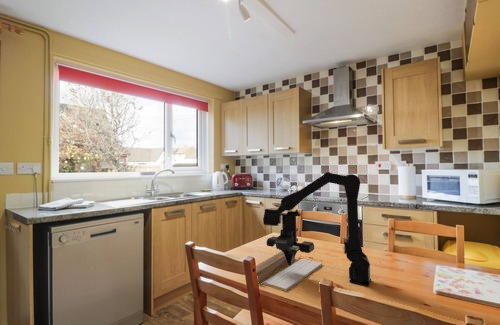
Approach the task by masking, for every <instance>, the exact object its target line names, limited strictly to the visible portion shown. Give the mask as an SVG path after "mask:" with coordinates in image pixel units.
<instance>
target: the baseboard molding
mask: <svg viewBox="0 0 500 325" xmlns="http://www.w3.org/2000/svg"><path fill="white" fill-rule="evenodd" d="M302 258H303V256H301V255H300V258H299V259H298V260H297V261H296V262H293V263H292V265H291V266H289V265H288V266H287V267H285V268H283V269H281V270H280V271H277V273H275V274H272V276H269V278H268V277H267V278H265V279H264V280H262V281H261V282H260V285H261V284H262V285H263V286H267V287H271V288H274V289H277V290H279V291H282V292H287V291H288V290H290V289H291V288H292V287H294V286H295V285H297V284H298V283H299V282H301V281H302V280H304V279H305V278H306V277H307V276H309V275H310V274H312V273H314V271H317V269H319V268H320V267H322V265H323V262H322V261H321V260H319V259H318V261H317V260H316V259H314V257H312V256H308V258H307V257H306V256H305V257H304V258H303V259H302ZM310 259H311V260H310Z"/></svg>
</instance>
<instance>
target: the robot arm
mask: <svg viewBox="0 0 500 325" xmlns="http://www.w3.org/2000/svg"><path fill="white" fill-rule="evenodd" d="M329 183H331V184H334V185H339V186H343V188H344V189H343V190H344V191H345V192H344V193H345V196H346V212H347V238H345V237H344V238H343V244H344V246H343V254H345V256H346V258H347V260H348V261H349V262H351V263H350V266H349V267H348V279H349V283H351V284H356V285H361V286H365V287H369V286H370V284H371V282H372V278H371V264H370V260H369V258H368V255H367V254H365V253H364V252H363V248H362V243H361V239H360V235H359V234H360V233H359V232H360V231H359V209H358V206H359V205H358V197H359V193H360V187H361V180H360V177H359V176H358V175H355V174H352V173H349V174H346V175H343V174H338V173H332V172H330V171H328V172H324V174H322V175H321V176H320V177H318V178H316V179H315V180H313V181H312V182H310V183H309V184H307V185H306V186H304V187H302V188H301V189H298V190H297V191H295V192H292V193H290V194H287V195H286V196H285V195H284V196H283V197H282V198H281V201H280V205H279V207H278V208H277V209H274V208H273V209H271V208H265V209H264V214H263V219H262V222H263V226H272V227H279V225H280V224H282V226H281V229H280V234H279V235H278V236H274V235H273V236H271V237H269V238H267V239H266V246H267V247H274V246H275V248H276V249H277V250H279V251H280V252H281V251H282V252H283V253H284V255H285V257H286V260H287V265H288V267H289V266H291V265H292V264H294V260H295V259H296V255H297V253H298V251H300V253H305V254H310V253H311V252H313V251H314V250H315V244H314V242H313V241H307V240H304V241H302V242H301V243H300V242H298V241H299V238H298V237H297V235H298V233H297V232H298V231H299V228H298V227H297V217H301V216H302V213H301V212H300V211H299V210H298V209H296V210H294V209H295V208H296V207H297V206H298V205H299V204H300V203H301V202H303V200H304V199H306V198H307V197H309V196H310V195H312V194H314V192H315V193H316V192H317V191H318V190H320V189H322V188H323V187H324V186H326V185H327V184H329ZM293 210H294V211H293ZM286 211H287V212H286ZM294 258H295V259H294Z"/></svg>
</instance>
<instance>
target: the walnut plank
mask: <svg viewBox="0 0 500 325" xmlns="http://www.w3.org/2000/svg"><path fill="white" fill-rule="evenodd" d="M295 259H296V257H295V258H294V260H295ZM286 265H288V263H287V260H286V257H285V255H284V253H283V252H282V251H281V250H280V251H279V252H277V253H276V254H274V255H272V256H271V257H268V258H267V259H264V260H263V261H261V262H259V263H258V264H257V265H255V266H256V269H257V276H258V282H259V283H258V284H261V282H263V281H265V280H266V279H268V277H271V275H274V273H276V272H278V271H279V270H280V269H282V268H283V267H285V266H286Z"/></svg>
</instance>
